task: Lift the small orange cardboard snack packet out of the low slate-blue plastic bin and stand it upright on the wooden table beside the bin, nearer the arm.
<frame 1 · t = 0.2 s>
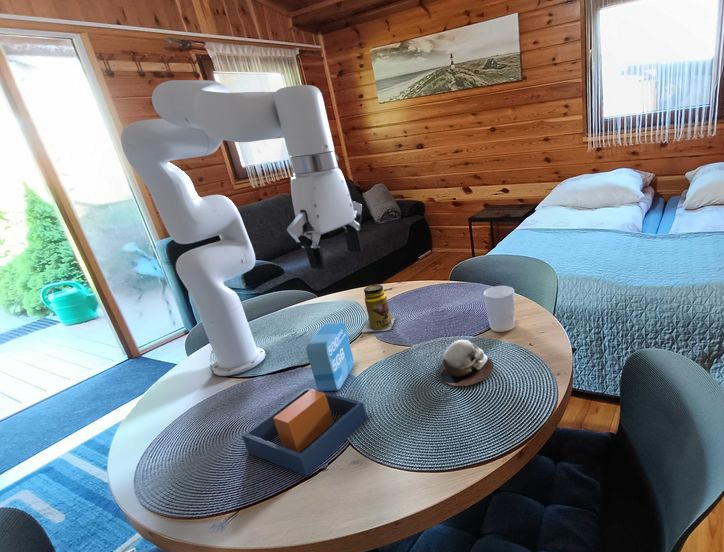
hand: (338, 259, 80), 31 cm above the table, tool pointing down, fingers open, 9 cm apart
bin: (309, 435, 83), on the table
condiment: (378, 326, 124), on the table
packet: (304, 420, 81), in the bin
skull: (467, 371, 97), on the table
data package: (337, 379, 101), on the table
white cup: (502, 326, 115), on the table
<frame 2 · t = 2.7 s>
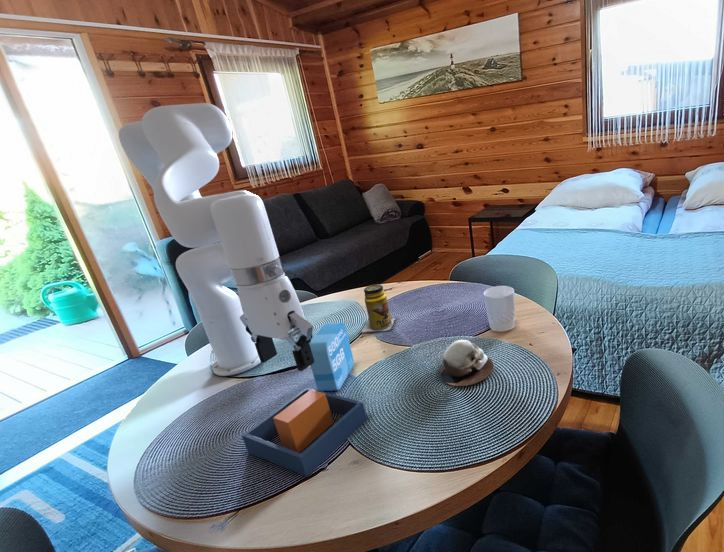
hand: (287, 362, 77), 16 cm above the table, tool pointing down, fingers open, 9 cm apart
nothing on the table moved.
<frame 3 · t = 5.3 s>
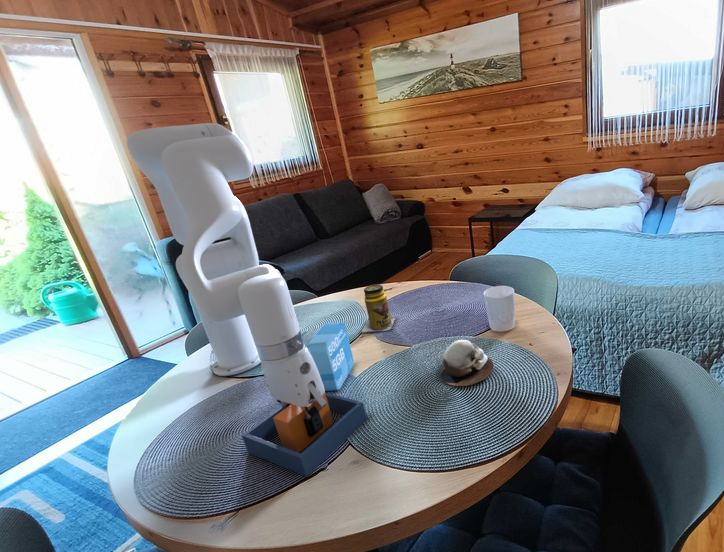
hand: (307, 428, 82), 2 cm above the table, tool pointing down, fingers closed on packet, 4 cm apart
packet: (304, 420, 81), in the bin, touching gripper
everything else where it was.
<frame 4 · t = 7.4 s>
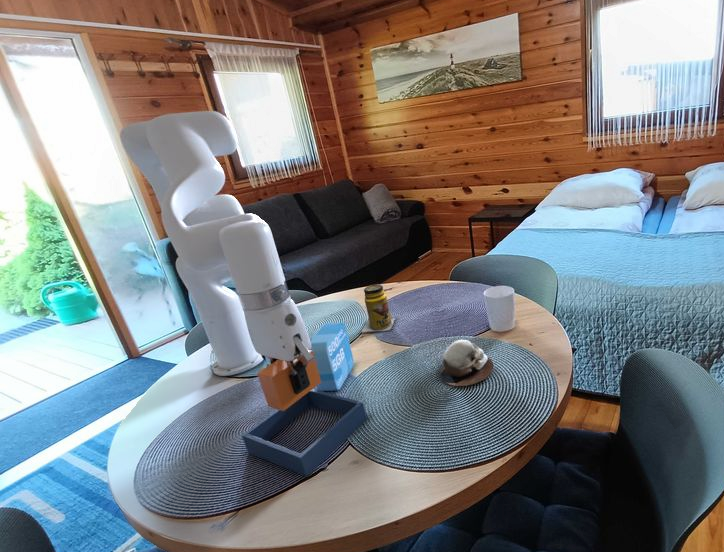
hand: (293, 386, 79), 11 cm above the table, tool pointing down, fingers closed on packet, 4 cm apart
packet: (290, 378, 78), point 13 cm above the table, touching gripper
everything else where it was.
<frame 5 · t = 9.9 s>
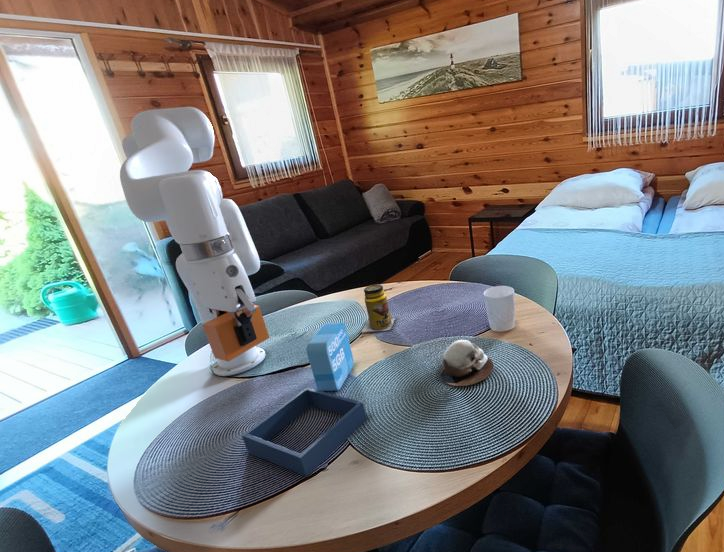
hand: (240, 339, 81), 19 cm above the table, tool pointing down, fingers closed on packet, 4 cm apart
packet: (237, 331, 81), point 21 cm above the table, touching gripper
everything else where it was.
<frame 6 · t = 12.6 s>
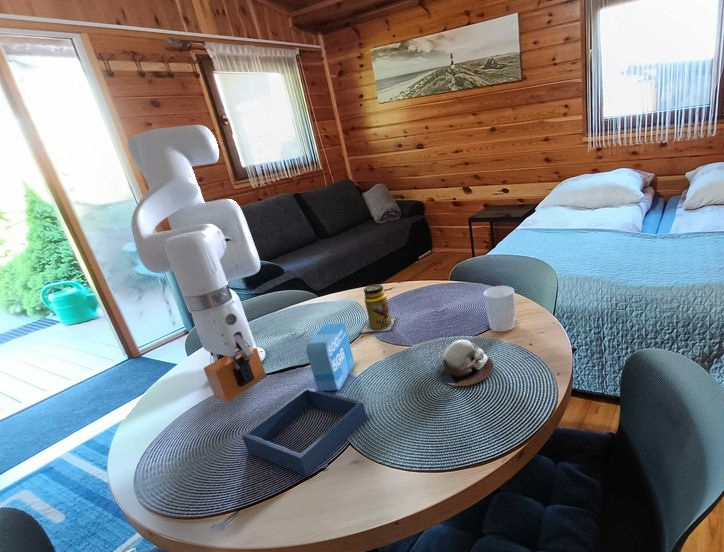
hand: (239, 380, 87), 9 cm above the table, tool pointing down, fingers closed on packet, 4 cm apart
packet: (236, 372, 87), point 11 cm above the table, touching gripper
everything else where it was.
when the fingers open (2 cm above the table, at t = 14.6 s): packet stays where it is, on the table.
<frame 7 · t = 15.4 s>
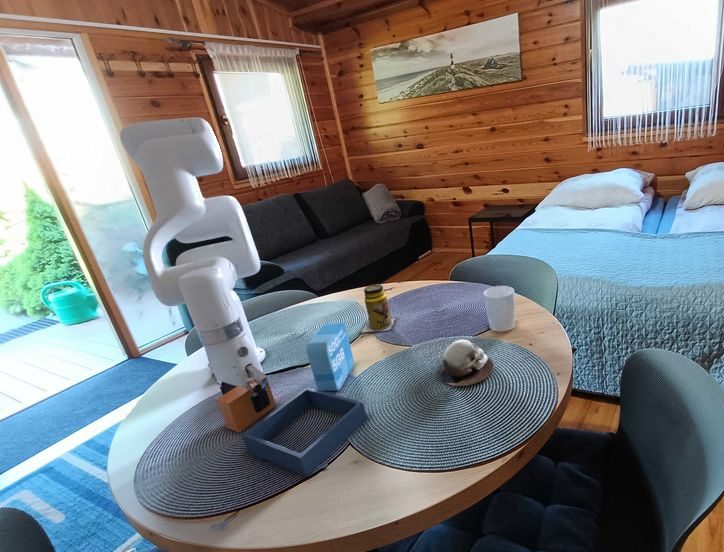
hand: (248, 403, 90), 3 cm above the table, tool pointing down, fingers open, 9 cm apart
packet: (247, 402, 89), on the table
everything else where it was.
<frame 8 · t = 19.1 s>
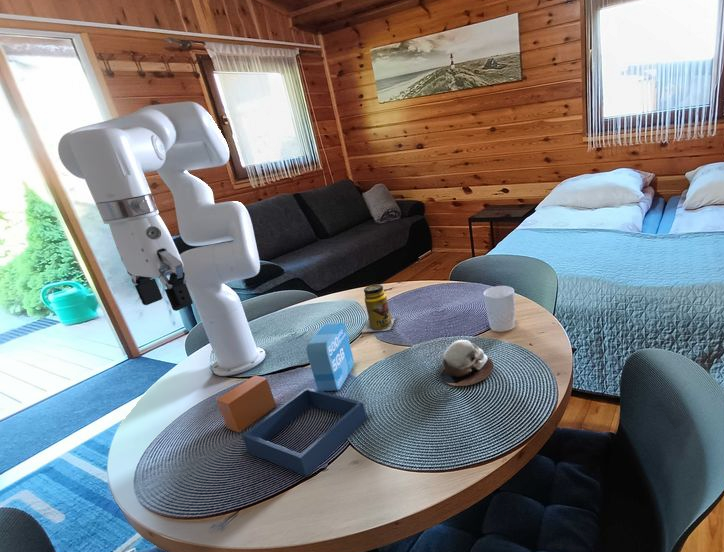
hand: (168, 304, 77), 28 cm above the table, tool pointing down, fingers open, 9 cm apart
nothing on the table moved.
at the end: packet inside the target area (0.3 cm from its centre), on the table; packet tilted 0°; the gripper is holding nothing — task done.
